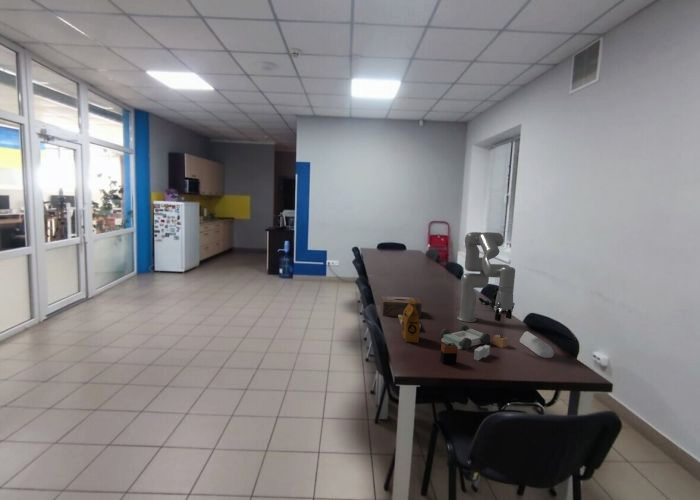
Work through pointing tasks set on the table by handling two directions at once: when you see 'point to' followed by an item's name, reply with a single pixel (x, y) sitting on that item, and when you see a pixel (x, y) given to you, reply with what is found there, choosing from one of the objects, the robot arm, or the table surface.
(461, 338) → the chassis
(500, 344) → the box with black knob
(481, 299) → the headset
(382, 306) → the tissue box cover
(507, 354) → the table surface
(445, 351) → the battery
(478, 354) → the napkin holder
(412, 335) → the coffee package
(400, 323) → the puzzle game
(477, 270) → the robot arm
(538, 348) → the crystal
